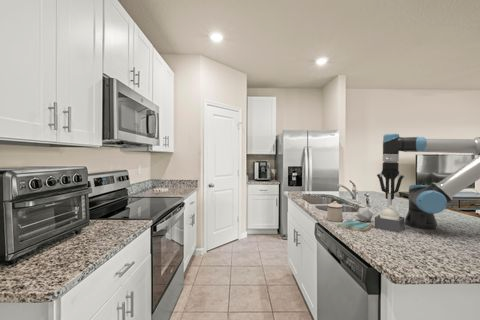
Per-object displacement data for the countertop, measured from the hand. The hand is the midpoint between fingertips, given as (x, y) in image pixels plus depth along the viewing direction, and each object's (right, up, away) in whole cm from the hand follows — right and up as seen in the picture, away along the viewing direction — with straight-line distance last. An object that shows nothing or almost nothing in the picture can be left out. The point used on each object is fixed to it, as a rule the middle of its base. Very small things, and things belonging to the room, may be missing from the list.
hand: (389, 205), depth 139 cm
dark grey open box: (0, -13, 0) cm, 13 cm away
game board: (-18, -13, +2) cm, 22 cm away
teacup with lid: (-24, -12, +18) cm, 33 cm away
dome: (0, -10, 0) cm, 10 cm away
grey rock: (-6, -13, +15) cm, 21 cm away
